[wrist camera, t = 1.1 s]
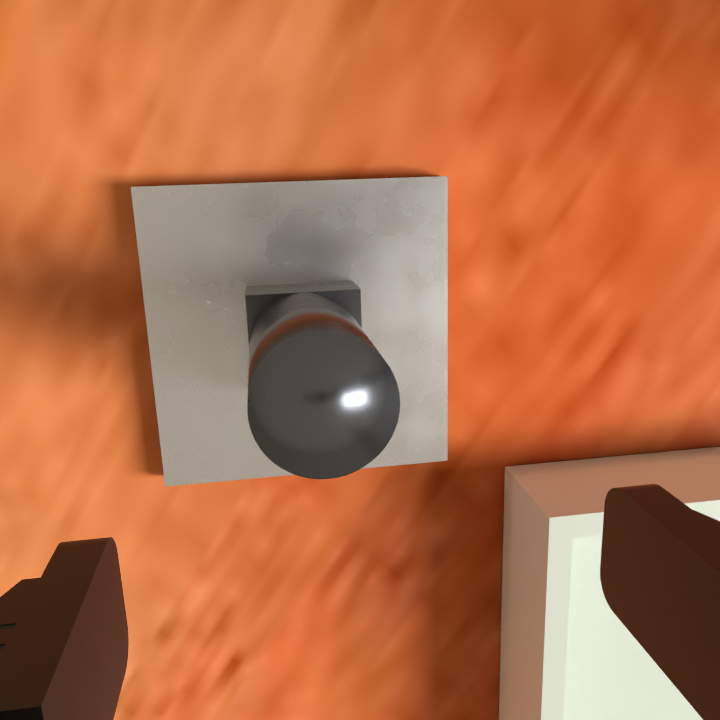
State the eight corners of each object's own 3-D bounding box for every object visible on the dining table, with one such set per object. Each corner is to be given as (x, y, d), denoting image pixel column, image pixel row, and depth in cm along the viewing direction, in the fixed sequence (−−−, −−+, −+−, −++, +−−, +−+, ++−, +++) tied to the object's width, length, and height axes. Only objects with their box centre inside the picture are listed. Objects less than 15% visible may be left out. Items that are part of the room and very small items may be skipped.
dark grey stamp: (352, 280, 27) (398, 328, 19) (355, 381, 28) (401, 472, 20) (245, 286, 27) (241, 338, 18) (253, 389, 28) (253, 485, 19)
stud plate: (440, 176, 28) (463, 175, 25) (441, 451, 31) (461, 480, 28) (135, 186, 26) (120, 187, 23) (168, 476, 29) (158, 509, 26)
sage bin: (854, 433, 34) (952, 475, 29) (805, 734, 39) (882, 812, 34) (505, 466, 32) (549, 517, 27) (497, 782, 36) (534, 873, 31)
